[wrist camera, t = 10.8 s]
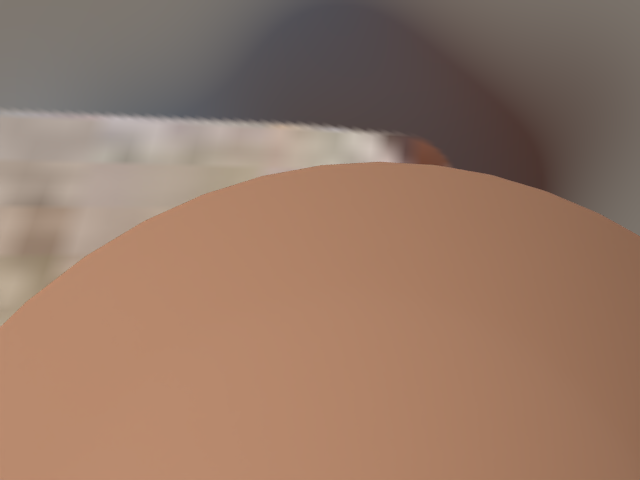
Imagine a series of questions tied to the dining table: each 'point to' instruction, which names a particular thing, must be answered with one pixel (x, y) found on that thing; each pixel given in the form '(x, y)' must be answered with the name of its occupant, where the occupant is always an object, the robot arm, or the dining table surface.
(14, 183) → the dining table surface
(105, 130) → the dining table surface
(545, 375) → the dome-topped peach cylinder
